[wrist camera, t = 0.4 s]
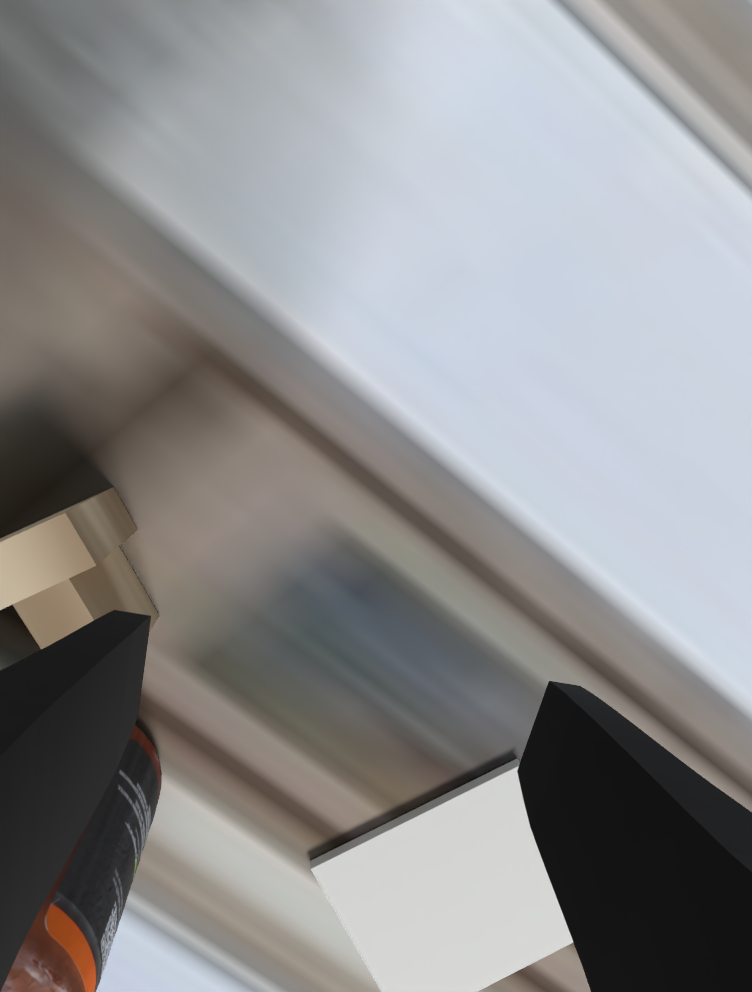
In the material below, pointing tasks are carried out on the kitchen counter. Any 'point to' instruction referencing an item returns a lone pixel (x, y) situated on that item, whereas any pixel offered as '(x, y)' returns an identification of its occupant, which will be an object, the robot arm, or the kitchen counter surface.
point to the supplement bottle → (92, 883)
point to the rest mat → (448, 891)
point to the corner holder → (71, 569)
